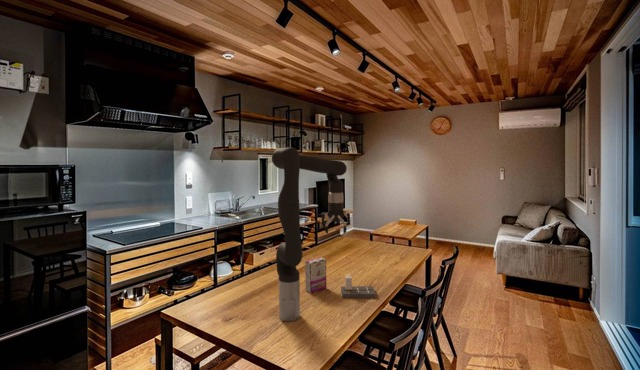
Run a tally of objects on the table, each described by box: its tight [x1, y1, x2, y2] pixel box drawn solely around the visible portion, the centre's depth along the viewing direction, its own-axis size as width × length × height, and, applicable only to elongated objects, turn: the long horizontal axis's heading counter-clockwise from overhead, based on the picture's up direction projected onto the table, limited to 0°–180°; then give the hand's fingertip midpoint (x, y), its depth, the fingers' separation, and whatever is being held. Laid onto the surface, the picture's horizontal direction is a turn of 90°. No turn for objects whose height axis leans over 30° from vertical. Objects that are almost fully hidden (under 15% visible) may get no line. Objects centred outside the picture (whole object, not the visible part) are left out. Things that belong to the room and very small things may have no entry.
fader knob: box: [344, 274, 353, 290], centre depth 173 cm, size 4×3×7 cm
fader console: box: [340, 285, 377, 299], centre depth 174 cm, size 10×17×2 cm, turn 91°
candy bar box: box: [304, 256, 327, 294], centre depth 179 cm, size 11×5×16 cm, turn 129°
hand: (335, 233), depth 167 cm, fingers open, 8 cm apart
